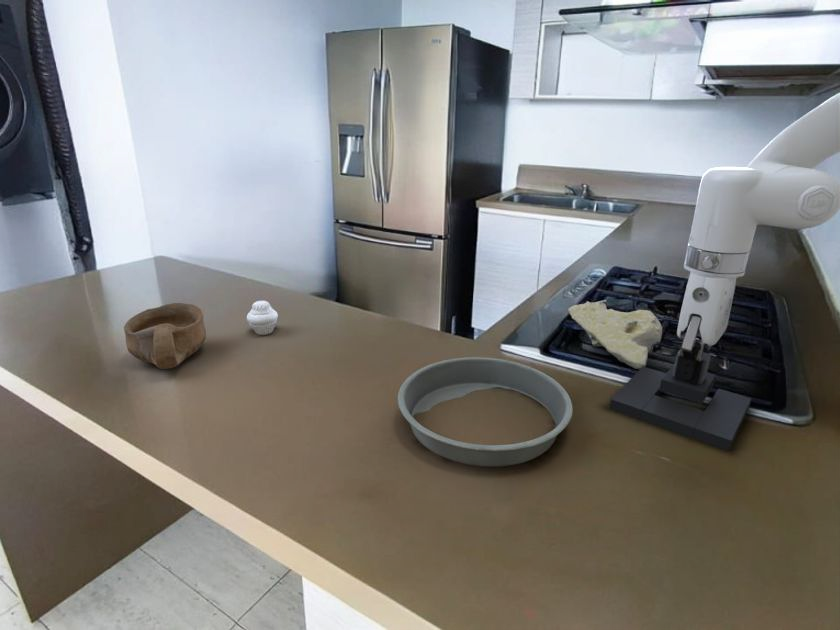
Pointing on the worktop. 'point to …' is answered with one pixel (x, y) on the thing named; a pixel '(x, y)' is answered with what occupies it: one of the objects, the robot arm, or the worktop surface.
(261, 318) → the muffin
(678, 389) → the grey stepped block
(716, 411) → the dark grey u-shaped block
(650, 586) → the worktop surface
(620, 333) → the cheese
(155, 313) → the bowl
